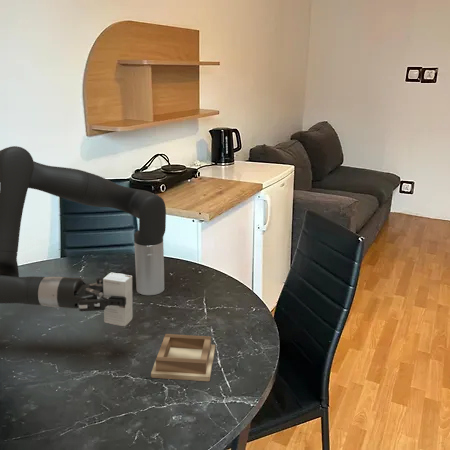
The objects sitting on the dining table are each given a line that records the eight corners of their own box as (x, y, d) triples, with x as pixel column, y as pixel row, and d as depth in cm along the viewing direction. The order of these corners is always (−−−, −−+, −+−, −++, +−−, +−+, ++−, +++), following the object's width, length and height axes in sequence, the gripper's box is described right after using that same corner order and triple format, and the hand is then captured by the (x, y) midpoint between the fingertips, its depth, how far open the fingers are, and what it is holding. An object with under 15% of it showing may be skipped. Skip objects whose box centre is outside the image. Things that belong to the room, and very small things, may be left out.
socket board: (162, 345, 127) (162, 331, 126) (215, 348, 126) (215, 334, 125) (151, 377, 114) (150, 362, 112) (209, 381, 113) (209, 366, 112)
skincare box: (103, 323, 119) (100, 278, 115) (112, 314, 123) (109, 271, 119) (126, 327, 117) (124, 282, 113) (134, 318, 121) (132, 274, 118)
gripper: (47, 291, 111) (119, 295, 110) (71, 267, 124) (136, 270, 123) (50, 319, 113) (121, 324, 112) (73, 293, 127) (137, 297, 126)
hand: (128, 296), depth 118 cm, fingers closed on skincare box, 5 cm apart
